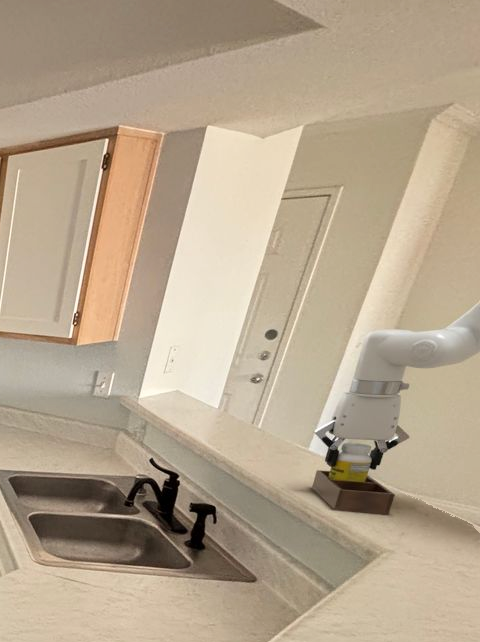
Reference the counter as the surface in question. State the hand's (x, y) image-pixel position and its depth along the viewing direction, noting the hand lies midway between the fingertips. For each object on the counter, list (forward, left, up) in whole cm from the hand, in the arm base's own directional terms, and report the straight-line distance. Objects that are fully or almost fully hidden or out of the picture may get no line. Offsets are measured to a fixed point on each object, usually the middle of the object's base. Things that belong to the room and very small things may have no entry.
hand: (350, 466), depth 134 cm
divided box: (0, +4, -7) cm, 8 cm away
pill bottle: (0, 0, -6) cm, 6 cm away
